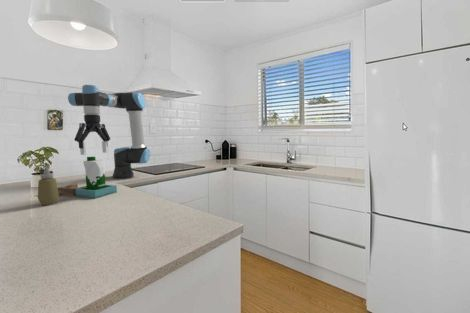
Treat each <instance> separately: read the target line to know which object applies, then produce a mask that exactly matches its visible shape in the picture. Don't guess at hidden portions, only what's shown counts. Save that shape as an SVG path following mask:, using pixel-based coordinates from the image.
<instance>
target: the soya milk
mask: <svg viewBox="0 0 470 313" xmlns="http://www.w3.org/2000/svg"><path fill="white" fill-rule="evenodd" d="M105 165H106V159H96V156H87V157H86V160H83V167H84V169H85V170H84V171H85V183H86V184H85V186H86V190H99V189H103V188H106V185H107V184H106V173H105V171H106V170H105V167H106V166H105Z"/></svg>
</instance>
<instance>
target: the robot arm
mask: <svg viewBox="0 0 470 313" xmlns="http://www.w3.org/2000/svg"><path fill="white" fill-rule="evenodd" d="M81 90H82V92H71V93H69V94H68V96H67V100H68V101H67V102H68V103H69V105H71V106H73V107H83V114H84V115H83V120H84V122H85V123H84V122H80V123H79V125H78V126H79V127H78V129H77V132H76V135H75V137H74V141H75V142H77V143H78V148H79V149H80V151H79V152H80V155H81V156H83V155H84V156H85V155H86V154H87V153H86V142H85V140H86V139H87V137H88V135H90V133H96V134H97V135H98V136H99V137H100V139H101V146H102V147H101V148H102V149H101V150H102V153H104V154H105V153H106V154H107V153H108V142H109V141H111V137H110V135H109V132H108V130H107V128H106V124H105V123H101V115H100V114H101V109H100V107H108V108H115V109H122V110H123V109H125V111H126V113H127V114H128V119H129V126H130V127H129V129H130V135H131V143H132V144H131V146H125V147H119V148H115V149H114V150H113V158H114V159H113V161H114V170H113V173H112V178H113V179H126V178H132V177H134V175H135V174H134V171H133V168H132V164H147V163H148V162H149V160H150V158H151V150H150V149H149V148H148V147H147V146H148V145H146V144H145V139H144V129H143V121H142V120H143V119H142V112H143V111H144V110H143V109H145V107H146V101H145V98H144V95H143V94H142V93H140V92H137V91H136V92H135V91H134V92H132V91H131V92H128V91H127V92H114V93H106V92H102V91H100V90H99V87H98V86H97V85H93V84H84V85H82V88H81Z"/></svg>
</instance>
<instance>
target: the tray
mask: <svg viewBox="0 0 470 313" xmlns="http://www.w3.org/2000/svg"><path fill="white" fill-rule="evenodd" d="M82 187H83V186H82ZM78 188H79V187H78ZM117 190H118V189H117V185H114V184H113V185H112V184H106V188H103V189H99V190H86V187H83V188H79V189H76V196H75V197H78V198H88V199H95V200H96V199H99V198H102V197H105V196H106V197H107V196H108V195H112V194H115V193H118V191H117Z"/></svg>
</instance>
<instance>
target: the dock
mask: <svg viewBox="0 0 470 313" xmlns="http://www.w3.org/2000/svg"><path fill="white" fill-rule="evenodd" d="M83 187H86V185H84V186H80V187H79V185H78V183H73V184H68V185H64V186H63V185H62V186H57V188H58V193H59V196H66V197H76V189H79V188H83Z"/></svg>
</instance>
